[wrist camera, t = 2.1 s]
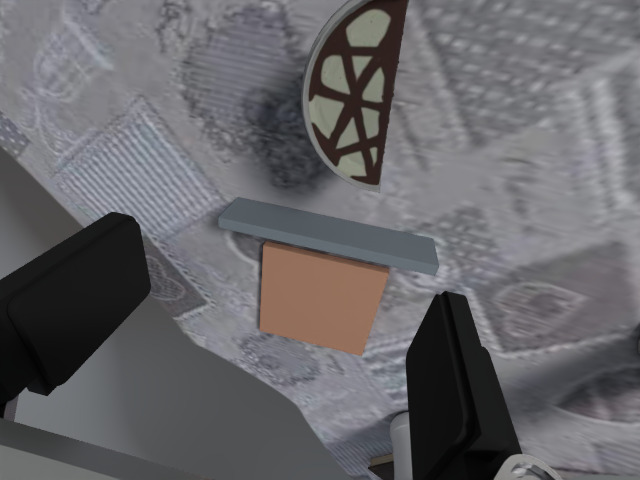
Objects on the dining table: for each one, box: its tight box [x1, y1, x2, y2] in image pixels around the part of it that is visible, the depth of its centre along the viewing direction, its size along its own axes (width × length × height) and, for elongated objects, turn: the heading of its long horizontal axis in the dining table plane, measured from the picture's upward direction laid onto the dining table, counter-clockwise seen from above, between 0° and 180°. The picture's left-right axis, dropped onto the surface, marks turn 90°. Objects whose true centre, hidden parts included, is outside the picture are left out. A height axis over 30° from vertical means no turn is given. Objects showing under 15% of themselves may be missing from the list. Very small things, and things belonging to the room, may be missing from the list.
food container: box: [301, 0, 409, 193], centre depth 23 cm, size 12×6×10 cm, turn 177°
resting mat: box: [260, 241, 389, 356], centre depth 41 cm, size 15×15×1 cm
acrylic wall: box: [218, 197, 439, 276], centre depth 33 cm, size 22×1×5 cm, turn 82°
